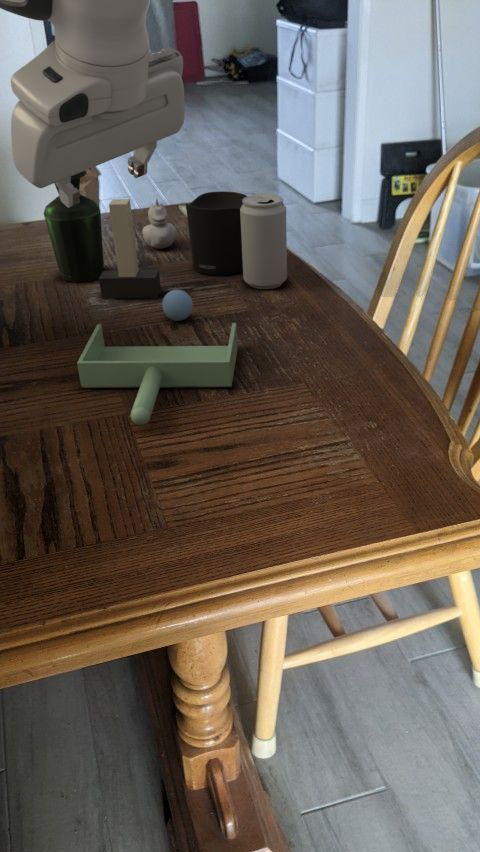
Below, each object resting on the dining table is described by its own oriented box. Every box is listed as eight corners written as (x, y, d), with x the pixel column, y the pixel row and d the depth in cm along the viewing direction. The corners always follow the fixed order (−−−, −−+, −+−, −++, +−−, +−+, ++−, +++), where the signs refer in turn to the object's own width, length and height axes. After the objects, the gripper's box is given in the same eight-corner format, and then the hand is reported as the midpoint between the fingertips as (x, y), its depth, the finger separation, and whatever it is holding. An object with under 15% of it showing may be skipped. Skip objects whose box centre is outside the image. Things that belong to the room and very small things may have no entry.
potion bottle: (110, 264, 122) (93, 141, 112) (108, 282, 116) (89, 154, 105) (58, 267, 122) (35, 144, 111) (52, 286, 115) (27, 157, 105)
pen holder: (182, 262, 122) (176, 197, 116) (236, 252, 125) (233, 188, 120) (205, 281, 115) (200, 213, 109) (262, 270, 118) (260, 203, 113)
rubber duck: (147, 254, 126) (142, 203, 121) (141, 242, 131) (135, 192, 126) (181, 250, 127) (176, 199, 122) (172, 238, 132) (168, 189, 127)
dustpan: (101, 349, 97) (97, 324, 95) (237, 348, 96) (236, 322, 94) (59, 436, 80) (52, 407, 78) (223, 436, 79) (221, 407, 78)
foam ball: (161, 325, 102) (158, 296, 100) (166, 313, 106) (163, 285, 103) (192, 325, 102) (189, 296, 100) (195, 313, 106) (193, 285, 103)
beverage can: (258, 294, 111) (255, 208, 104) (235, 280, 115) (231, 197, 108) (295, 284, 113) (295, 200, 106) (272, 271, 118) (270, 189, 111)
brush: (101, 298, 111) (87, 205, 103) (106, 290, 113) (92, 199, 106) (157, 298, 110) (147, 204, 103) (161, 290, 113) (150, 198, 105)
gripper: (163, 27, 83) (157, 143, 94) (-6, 81, 73) (11, 203, 84) (203, 57, 81) (192, 172, 92) (35, 117, 71) (46, 237, 83)
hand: (104, 187), depth 88 cm, fingers open, 8 cm apart
